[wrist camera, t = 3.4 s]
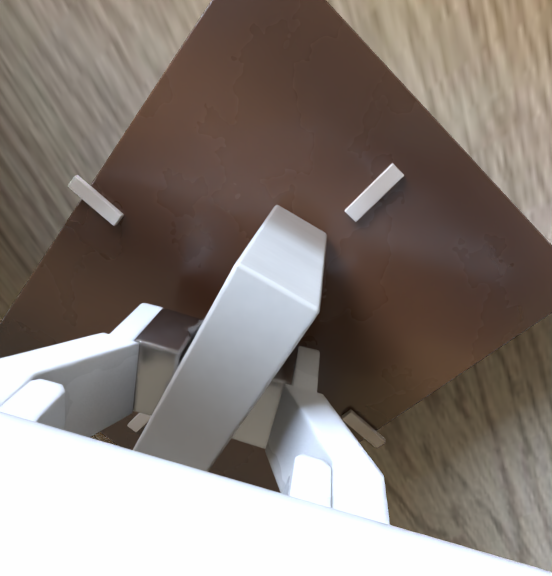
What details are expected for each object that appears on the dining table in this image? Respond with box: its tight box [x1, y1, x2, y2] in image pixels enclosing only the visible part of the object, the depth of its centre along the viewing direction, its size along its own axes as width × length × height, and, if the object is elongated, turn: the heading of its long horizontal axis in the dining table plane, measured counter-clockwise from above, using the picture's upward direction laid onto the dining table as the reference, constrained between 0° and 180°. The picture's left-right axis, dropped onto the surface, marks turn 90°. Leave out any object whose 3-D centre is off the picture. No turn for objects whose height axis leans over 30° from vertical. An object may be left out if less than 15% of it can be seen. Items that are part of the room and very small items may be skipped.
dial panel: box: [0, 0, 552, 493], centre depth 12 cm, size 13×11×3 cm
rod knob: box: [133, 205, 327, 472], centre depth 9 cm, size 6×1×4 cm, turn 151°
